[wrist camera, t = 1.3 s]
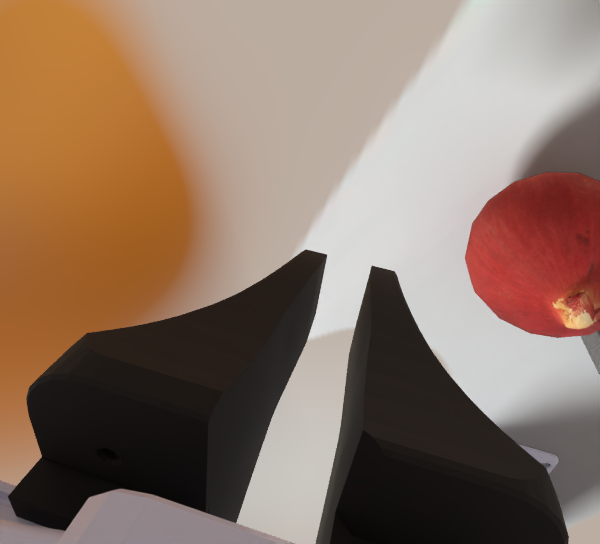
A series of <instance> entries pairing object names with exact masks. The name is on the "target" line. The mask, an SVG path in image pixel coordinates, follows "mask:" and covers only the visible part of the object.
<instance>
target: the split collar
mask: <svg viewBox="0 0 600 544" xmlns="http://www.w3.org/2000/svg"><path fill="white" fill-rule="evenodd" d="M581 338H582V340H583V342H584V344H585V346H586V348H587V350H588V352H589V354H590V356H591V359H592V361H593V363H594V365H595V367H596V369H597V371H598V373H599V374H600V330H599V331H597V332H595V333H592V334H590V335H584V336H581Z"/></svg>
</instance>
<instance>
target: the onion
mask: <svg viewBox="0 0 600 544" xmlns="http://www.w3.org/2000/svg"><path fill="white" fill-rule="evenodd" d="M465 260H466V264H467V268H468V271H469V275H470V279H471V282H472V285H473V288H474V291H475V293H476V294H477V295H478V296H479V297H480V298H481V299H482V300H483V301H484V302H485V303H486V304H487V306H488V307H489V308H490V309H491V310H492V311H493V312H494V313H495V314H496V315H497V316H498V317H499V318H500V319H502V320H504V321H506V322H508V323H510V324H512V325H514V326H516V327H518V328H520V329H522V330H524V331H526V332H529V333H531V334H538V335H544V336H550V337H556V338H559V337H572V336H584V335H590V334H592V333H595V332H597V331H599V330H600V181H598V180H595V179H593V178H590V177H588V176H585V175H583V174H581V173H560V172H546V173H542V174H539V175H535V176H532V177H529V178H525V179H522V180H519V181H515V182H513V183H512V184H510V185H509V186H508V187H506V188H505V189H504V190H502V191H501V192H500V193H498V194H497V195H495V196H494V197H493V198H491V199H490V200H489V201H488V202H487V203H486V205H485V206H484V208H483V209H482V210H481V212H480V213H479V215H478V216H477V218H476V219H475V221H474V222H473V223H472V227H471V232H470V237H469V241H468V246H467V251H466V255H465Z"/></svg>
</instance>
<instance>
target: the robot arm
mask: <svg viewBox="0 0 600 544" xmlns="http://www.w3.org/2000/svg"><path fill="white" fill-rule="evenodd" d="M326 258H327V255H326V254H322V253H318V252H314V251H310V250H304V251H303V252H301V253H300V254H298V255H297V256H296V257H294V258H293V259H292V260H290V261H289V262H288V263H286V264H285V265H283V266H282V267H281V268H279V269H278V270H276V271H275V272H273V273H272V274H270V275H269V276H267V277H266V278H264V279H263V280H261V281H259V282H257V283H256V284H254V285H252V286H250V287H249V288H247V289H245V290H243V291H242V292H240V293H238V294H236V295H234V296H232V297H229V298H227V299H225V300H222V301H220V302H218V303H215V304H213V305H210V306H207V307H204V308H201V309H198V310H195V311H192V312H189V313H186V314H183V315H180V316H177V317H173V318H169V319H165V320H161V321H157V322H153V323H148V324H143V325H138V326H133V327H126V328H120V329H114V330H106V331H100V332H92V333H87V334H86V335H84V336H83V337H82V338H81V339H80V340H78V341H77V342H76V343H75V344H74V345H73V346H71V347H70V348H69V349H68V350H67V351H66V352H65V353H64V354H63V355H62V356H61V357H60V358H59V359H58V360H57V361H56V362H54V363H53V365H51V366H50V367H49V368H48V369H47V370H46V371H45V372H44V373H43V374H42V375H41V376H40V377H39V378H38V379H37V380H36V381H35V382H34V383H33V384H32V385H31V386H30V387H29V390H28V394H27V406H28V413H29V417H30V420H31V423H32V426H33V430H34V433H35V436H36V439H37V442H38V445H39V448H40V451H41V454H42V458H41V459H40V460H39V461H38V462H37V463H36V464H35V466H34V467H33V468H32V469H31V470H30V471H29V473H28V474H27V475H26V476H25V477H24V478H23V479H22V480H21V482H20V483H19V484H18V485H17V486H15V485H12V484H9V483H6V482H4V481H1V480H0V544H295V543H292V542H288V541H286V540H283V539H280V538H277V537H274V536H271V535H268V534H266V533H262V532H260V531H257V530H253V529H251V528H248V527H245V526H242V525H239V524H237V523H236V522H237V519H238V516H239V513H240V510H241V507H242V504H243V501H244V498H245V494H246V491H247V488H248V486H249V483H250V480H251V477H252V473H253V471H254V468H255V465H256V462H257V459H258V456H259V453H260V450H261V447H262V444H263V441H264V439H265V435H266V433H267V430H268V427H269V424H270V421H271V418H272V416H273V414H274V411H275V408H276V406H277V404H278V402H279V400H280V397H281V395H282V393H283V391H284V389H285V387H286V385H287V383H288V381H289V378H290V376H291V374H292V372H293V370H294V367H295V366H296V363H297V361H298V359H299V357H300V355H301V353H302V351H303V348H304V346H305V344H306V342H307V339H308V336H309V333H310V329H311V326H312V323H313V320H314V317H315V314H316V309H317V304H318V299H319V294H320V289H321V284H322V279H323V274H324V269H325V264H326ZM558 462H559V459H558V457H557V456H556V455H554V454H551V453H548V452H544V451H541V450H537V449H534V448H530V447H527V446H523V445H520V444H517V443H516V442H515V441H513V440H512V439H511V438H510V437H509V436H507V435H506V434H505V433H504V432H503V431H502V430H501V429H500V428H499V427H498V426H497V425H496V424H494V423H493V422H492V421H491V420H490V419H489V418H488V417H487V416H486V415H485V414H484V413H483V412H482V411H481V410H480V409H479V408H478V407H477V406H476V405H475V404H474V403H473V402H472V401H471V400H470V398H469V397H468V396H467V395H466V394H465V393H464V392H463V391H462V389H461V388H460V387H459V386H458V385H457V384H456V382H455V381H454V380H453V379H452V378H451V376H450V375H449V374H448V373H447V371H446V370H445V369H444V368H443V366H442V365H441V363H440V362H439V361H438V359H437V358H436V356H435V355H434V354H433V352H432V350H431V349H430V347H429V346H428V344H427V342H426V341H425V339H424V337H423V335H422V333H421V332H420V330H419V328H418V326H417V324H416V322H415V320H414V318H413V316H412V314H411V312H410V309H409V307H408V305H407V303H406V300H405V298H404V295H403V293H402V290H401V287H400V284H399V281H398V277H397V275H396V273H395V272H394V271H391V270H387V269H383V268H379V267H375V266H372V267H371V271H370V275H369V279H368V282H367V286H366V290H365V293H364V297H363V301H362V305H361V308H360V312H359V316H358V319H357V323H356V327H355V331H354V336H353V340H352V344H351V349H350V353H349V360H348V369H347V377H346V386H345V396H344V403H343V413H342V421H341V428H340V434H339V440H338V444H337V449H336V454H335V458H334V463H333V468H332V472H331V476H330V481H329V486H328V490H327V495H326V499H325V504H324V509H323V513H322V518H321V522H320V527H319V531H318V535H317V540H316V544H568V538H569V536H568V533H567V529H566V525H565V522H564V518H563V514H562V511H561V507H560V504H559V501H558V498H557V495H556V492H555V490H554V487H553V485H552V482H551V480H550V477H549V474H550V472H551V471H552V470H553V469H554V467H555V466H556V465H557V464H558ZM543 463H549V464H550V466H548V467H544V466H543V465H542V464H543Z"/></svg>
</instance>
